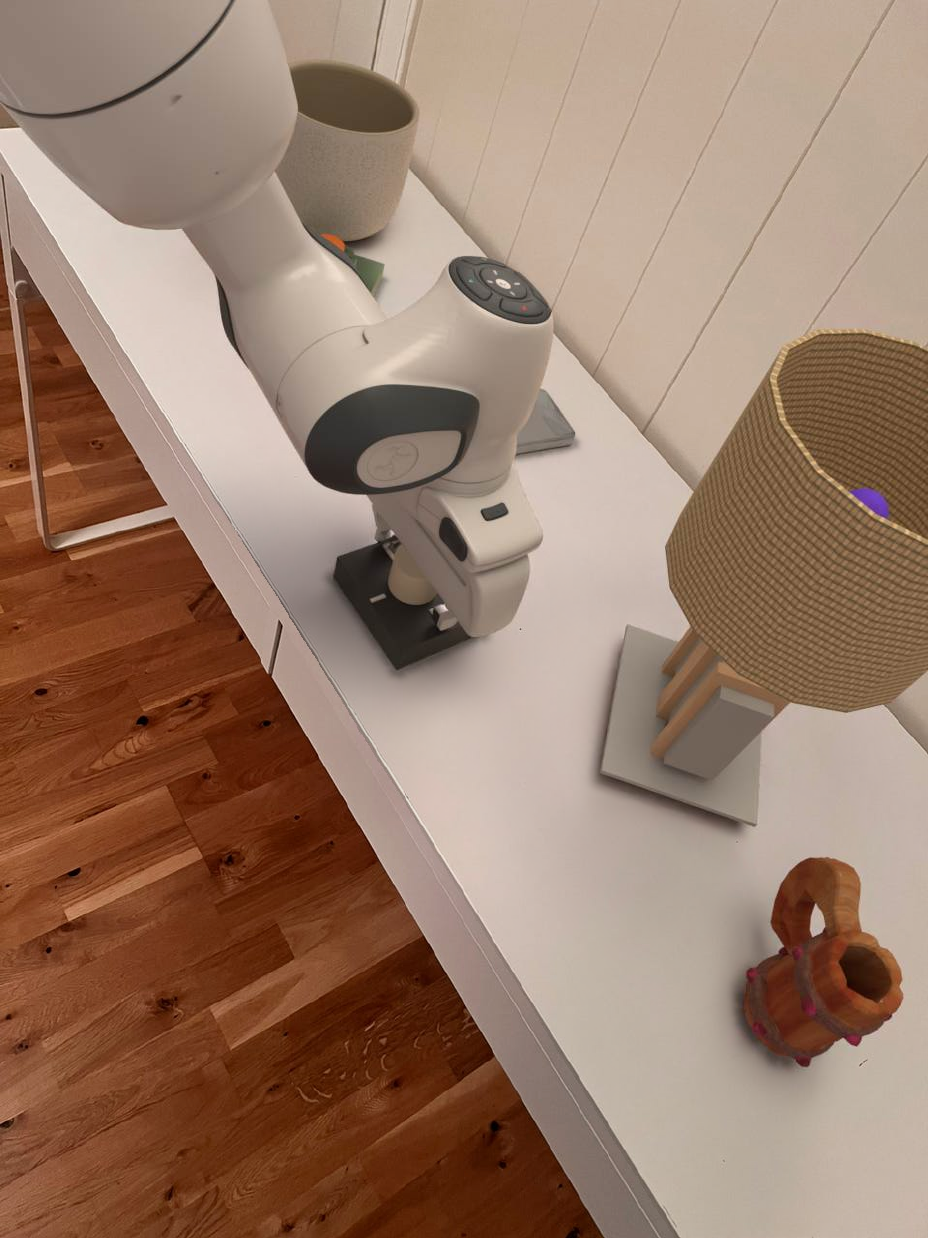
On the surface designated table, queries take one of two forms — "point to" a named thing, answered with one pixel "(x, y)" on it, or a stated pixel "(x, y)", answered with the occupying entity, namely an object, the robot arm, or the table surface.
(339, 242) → the switch
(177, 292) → the table surface
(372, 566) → the panel
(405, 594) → the dial
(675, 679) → the desk lamp
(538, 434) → the phone
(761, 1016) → the mug
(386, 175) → the planter
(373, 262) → the push button box
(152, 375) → the table surface
